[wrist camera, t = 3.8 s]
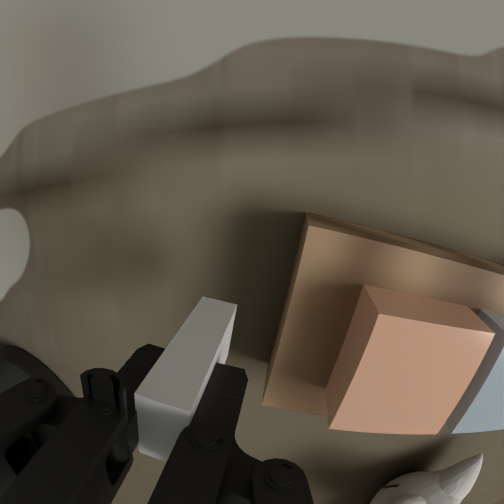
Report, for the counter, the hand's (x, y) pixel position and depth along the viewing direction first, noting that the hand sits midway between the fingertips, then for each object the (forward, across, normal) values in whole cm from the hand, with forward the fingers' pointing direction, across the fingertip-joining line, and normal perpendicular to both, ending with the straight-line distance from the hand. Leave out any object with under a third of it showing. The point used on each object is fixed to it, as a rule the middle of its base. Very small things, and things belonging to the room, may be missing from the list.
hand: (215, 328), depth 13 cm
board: (+5, +12, 0) cm, 13 cm away
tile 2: (+1, +9, 0) cm, 9 cm away
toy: (+6, +21, -18) cm, 28 cm away
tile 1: (+1, +16, 0) cm, 16 cm away
